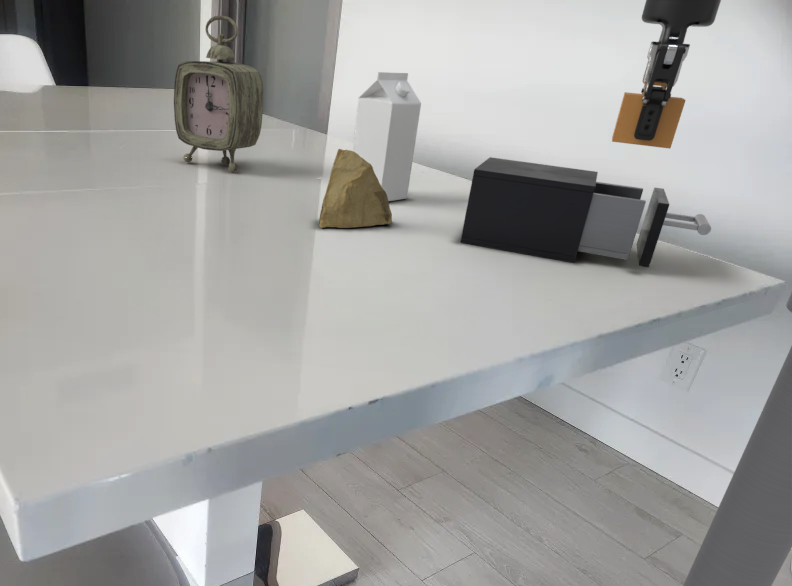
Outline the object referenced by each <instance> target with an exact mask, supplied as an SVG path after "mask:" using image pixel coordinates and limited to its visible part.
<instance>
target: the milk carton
mask: <svg viewBox="0 0 792 586" xmlns="http://www.w3.org/2000/svg"><path fill="white" fill-rule="evenodd" d="M376 77H377V79H376V80H375V82H373V83H372V84H371V85H370V86H369V87H367V89H366V90H365V91H364V92H363V93H362V94H361V95H360V96H359V97H358V98H357V107H356V117H355V125H354V134H353V141H352V142H353V143H352V151H354V152H355V153H357V154H358V155H359V156H360V157H362V158H363V159H364V160H365V161H367V162H368V163H370V164H371V165H372V167H373V170H374V173H375V175H376V177H377V178H378V180H379V183H380V185H381V187H382V188H383V190H384V191H385V192H386V194H387V197H388V201H389V202H393V201H400V200H405V199H408V193H409V187H410V180H411V174H412V166H413V161H414V154H415V148H416V141H417V134H418V127H419V121H420V115H421V114H420V113H421V107H422V102H421V100H420V98H419V97H418V95H417V94H416V93H415V91H414V89H413V88H412V86H411V84H410V82H409V81H408V78H409V73H408V72H386V71H384V72H383V71H378V72H377V76H376Z"/></svg>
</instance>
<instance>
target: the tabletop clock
mask: <svg viewBox="0 0 792 586" xmlns="http://www.w3.org/2000/svg"><path fill="white" fill-rule="evenodd" d="M215 21H225V22H228V23H230V24H231V25H232V26H233V28H234V35H233V36H231V37H230V38H225V35H224V34H223V33H218V37H215V36H212V34H210V33H209V26H210V25H211V24H212V23H213V22H215ZM205 34H206V36H207V38H208V39H209V40H211V41H212V42H214V43H217V44H216V45H213V46H211V47H210V48H209V49H208V51H207V53H206V56H205V58H207V59H212V60H217V61H207V60H205V61H204V60H200V61H199V60H187V61H184V62H183V61H182V62H181V63H179V64H178V65H177V69H176V72H175V76H174V86H173V87H174V89H173V113H174V115H173V116H174V125H175V131H176V135H177V138H178V140H180V141H181V142H182V143H184V144H186V145H188V146H191V150H190V151H189V153H185V154H184V155H183V160H184V162H185V163H191V162H192V161H193V155H194V153H195V152H196V151H197V149H201V150H205V151H216V152H217V151H219V152H222V155H223V156H222V158H221V164H222V165H224V166H228V170H229V172H230V173H236V171H237V170H238V165H237V163H236V162H235V153H236V150H237V149H239V150H240V149H245V148H246V149H247V148H251V147H254V146H256V145H257V142H258V140H259V138H260V136H261V131H262V124H263V115H264V82H263V79H262V75H261V73H260V71H259V70H257V69H256V68H255V67H253V66H250V65H247V64H243V63H239V62H233V61H236V56H235V53H234V52H233V50H232V48H230V47H229V46H227V45H226V44H230V43H232V42H234V41H235V40H236V39H237V37H238V34H239V29H238V25H237V23H236V22H235V21H234V19H232V18H231V17H229V16H226V15H214V16H212V17H210V18H209V19H208V20H207V22H206V24H205ZM224 60H225V61H224ZM227 151H228V154H229V156H227ZM184 157H187V158H184ZM191 157H192V158H191ZM222 159H223V160H222Z"/></svg>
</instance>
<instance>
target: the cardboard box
mask: <svg viewBox="0 0 792 586" xmlns="http://www.w3.org/2000/svg"><path fill="white" fill-rule="evenodd" d="M643 97H644V94H642V93H635V92H628V91H627V92H624V93H623V97H622V100H621V103H620V107H619V111H618V115H617V118H616V122H615V125H614V126H615V127H614V129H613V133H612V137H611V142H613V143H621V144H628V145H637V146H645V147H654V148H663V149H671V148H672V145H673V141H674V139H675V135H676V132H677V130H678V129H677V128H678V126H679V122H680V120H681V116H682V113H683V110H684V107H685V104H686V99H685V98H683V97H678V96H671V97H670V99H668V103H667V104H666V105H665V107H663V110H662V114H661V117H660V120H659V123H658V127H657V130H656V133H655V137H654V138H653V139H652V140H650V141H648V140H639V139H636V138H635V137H634V133H635V129H636V126H637V123H638V119H639V116H640V112H641V109H642V103H643V101H642V98H643ZM644 106H646V105H644Z"/></svg>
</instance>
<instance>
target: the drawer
mask: <svg viewBox="0 0 792 586" xmlns="http://www.w3.org/2000/svg"><path fill="white" fill-rule="evenodd" d="M643 192H644V188H643V187H637V186H636V187H635V186H631V185H622V184H616V183H609V182H600V181H596V185H595V190H594V193H593V197H592V200H591V204H590V208H589V211H588V215H587V219H586V222H585V226H584V230H583V233H582V237H581V241H580V244H579V248H578V251H577V252H581V253H585V254H590V255H597V256H601V257H602V256H603V257H608V258H614V259H620V260H625V261H628V260H629V257H630V255H631V251H632V249H633V245H634V241H635V238H636V236H637V232H638V228H639V225H640V223H641V219H642V215H643V213H644V209H645V206H646V203H647V201H646V200H645V199H642V196H643ZM669 206H670V202H669V199H668V196H667V194H666V191H665V189H664V188H661V187H653V190H652V193H651V197H650V199H649V203H648V205H647V210H646V213H645V215H644V218H643V222H642V224H641V229H640V231H639V235H638V238H637V241H636V244H635V245H636V255H637V263H638V264H637V265H638V266H639V267H642V268H650V265H651V263H652V259H653V257H654V253H655V250H656V247H657V245H658V242H659V238H660V235H661V232H662V229H663V226H667V227H672V228H679V229H685V230H693V231H697V233H698V235H701V236H707V235H708V234H710V233H711V231H712V226H711V224H710V222H709V221H708V219H707V217H706V215H704V214H703V213H699V214H696V215H695V216H692V215H685V214H678V213H672V212H668V211H669V208H670V207H669Z"/></svg>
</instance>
